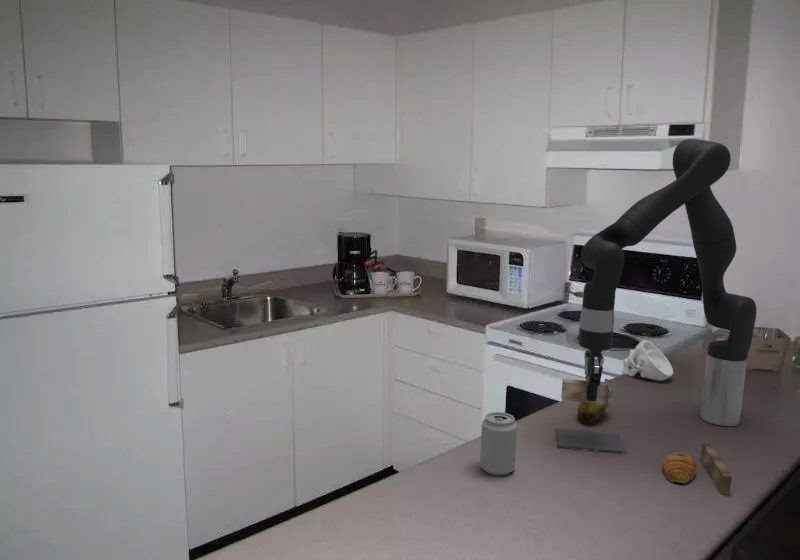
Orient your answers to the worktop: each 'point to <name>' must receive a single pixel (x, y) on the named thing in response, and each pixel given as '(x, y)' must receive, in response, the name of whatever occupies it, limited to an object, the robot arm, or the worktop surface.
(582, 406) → the potato
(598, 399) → the scraper
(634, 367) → the skull bowl
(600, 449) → the mat
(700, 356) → the worktop surface
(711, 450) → the rail
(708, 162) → the robot arm
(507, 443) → the can
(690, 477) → the pastry
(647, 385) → the worktop surface
